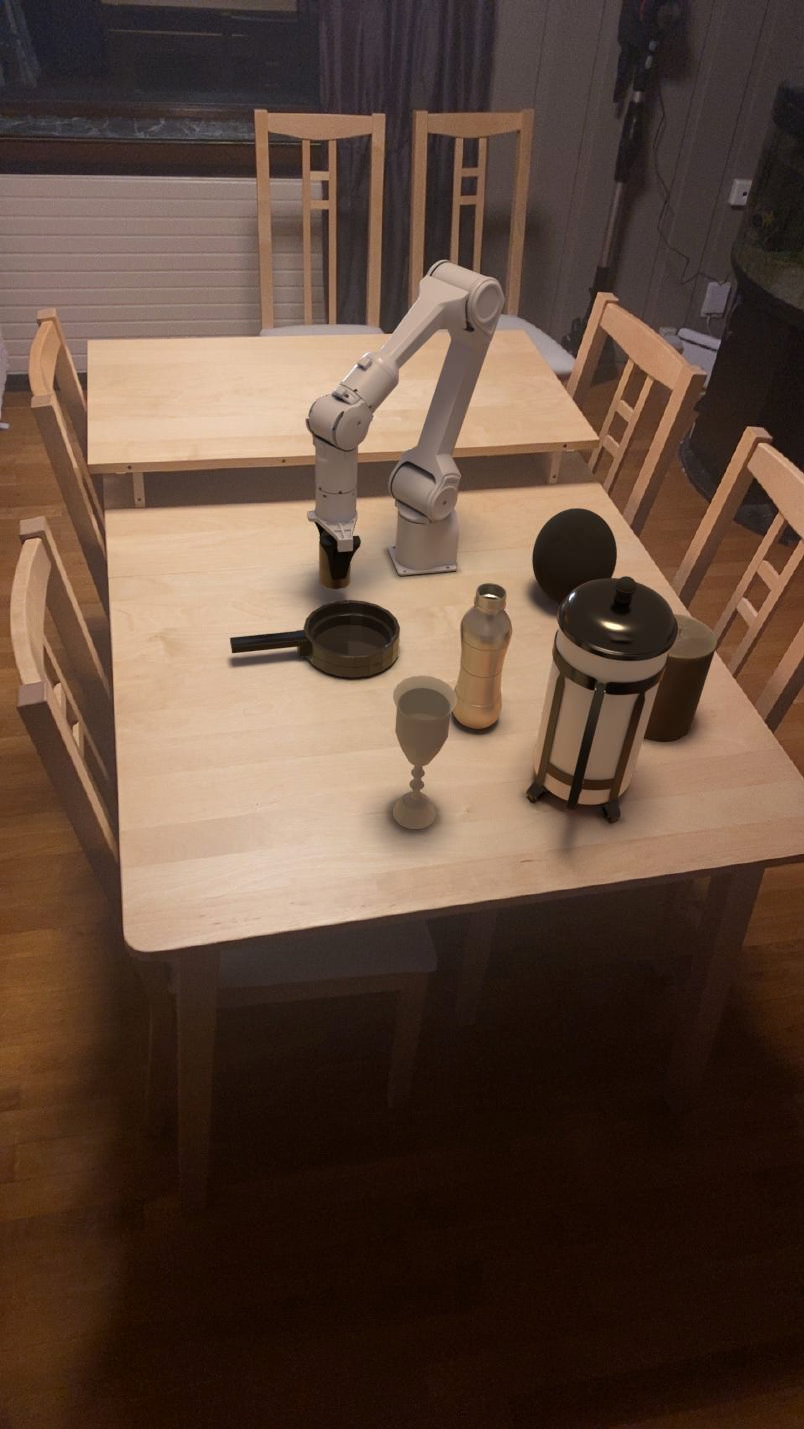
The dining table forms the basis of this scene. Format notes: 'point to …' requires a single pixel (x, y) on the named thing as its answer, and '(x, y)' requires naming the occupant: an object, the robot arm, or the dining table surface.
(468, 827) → the dining table surface
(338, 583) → the salt shaker
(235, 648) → the skillet handle
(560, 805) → the dining table surface
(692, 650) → the pillar candle
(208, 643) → the dining table surface
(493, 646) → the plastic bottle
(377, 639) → the skillet
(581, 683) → the coffee press
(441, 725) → the chalice
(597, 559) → the decorative egg
